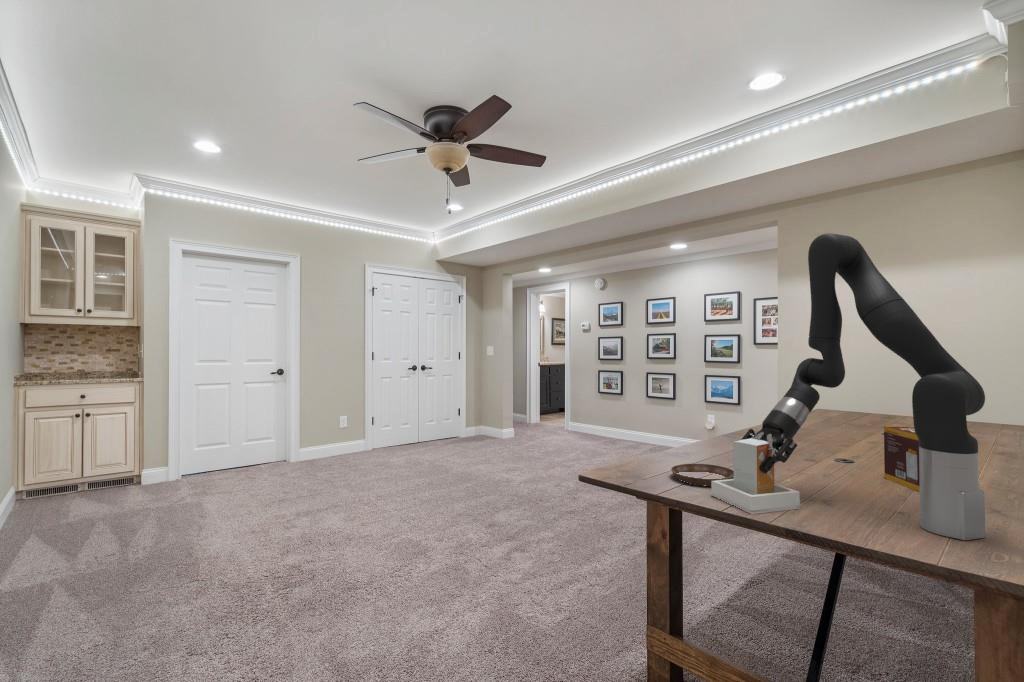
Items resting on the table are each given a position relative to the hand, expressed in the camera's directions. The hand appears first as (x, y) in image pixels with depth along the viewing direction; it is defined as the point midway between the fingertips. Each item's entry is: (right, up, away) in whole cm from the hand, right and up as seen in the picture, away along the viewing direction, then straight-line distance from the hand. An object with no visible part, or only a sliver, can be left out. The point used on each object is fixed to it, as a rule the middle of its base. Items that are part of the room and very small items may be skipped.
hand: (749, 466), depth 119 cm
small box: (+1, -7, 0) cm, 7 cm away
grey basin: (+1, -9, 0) cm, 9 cm away
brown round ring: (-3, -10, +21) cm, 23 cm away
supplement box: (+55, -9, +14) cm, 58 cm away
